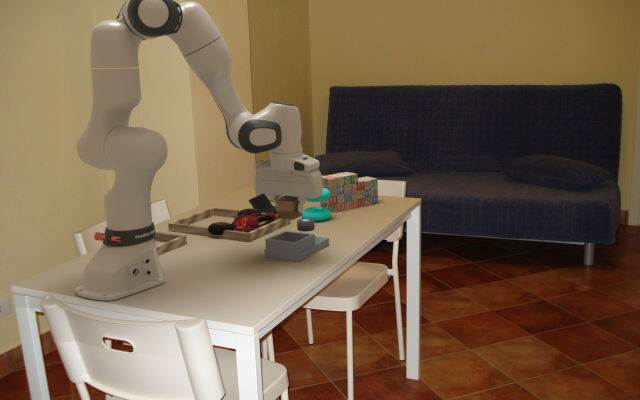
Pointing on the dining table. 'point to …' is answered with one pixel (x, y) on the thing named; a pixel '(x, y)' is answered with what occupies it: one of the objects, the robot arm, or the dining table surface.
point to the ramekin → (266, 195)
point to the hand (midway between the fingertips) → (289, 211)
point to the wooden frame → (169, 241)
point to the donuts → (317, 208)
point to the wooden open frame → (184, 227)
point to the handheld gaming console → (263, 204)
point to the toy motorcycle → (241, 222)
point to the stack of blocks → (349, 191)
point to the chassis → (293, 245)
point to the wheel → (305, 225)
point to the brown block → (287, 208)
